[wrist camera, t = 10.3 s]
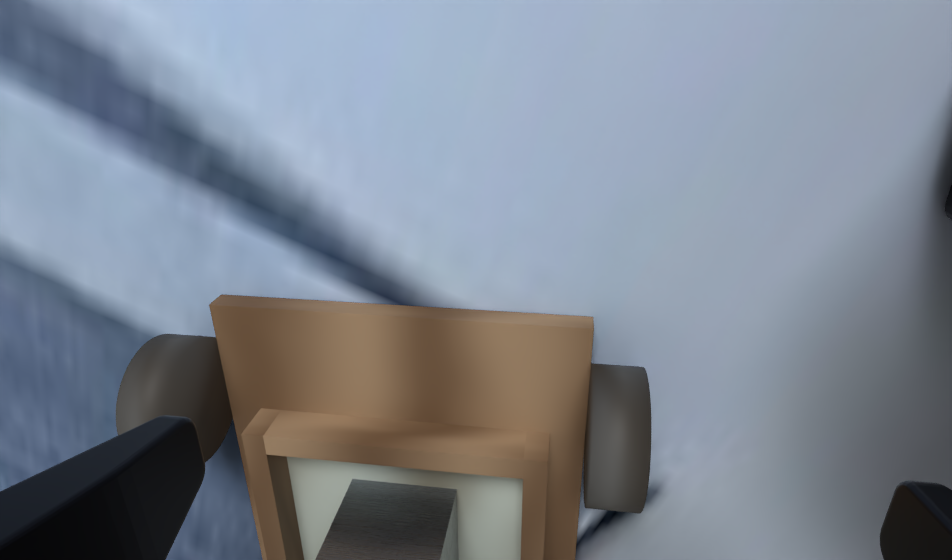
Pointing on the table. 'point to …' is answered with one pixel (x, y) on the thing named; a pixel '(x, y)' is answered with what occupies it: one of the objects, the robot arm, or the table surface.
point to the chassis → (406, 416)
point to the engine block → (393, 523)
